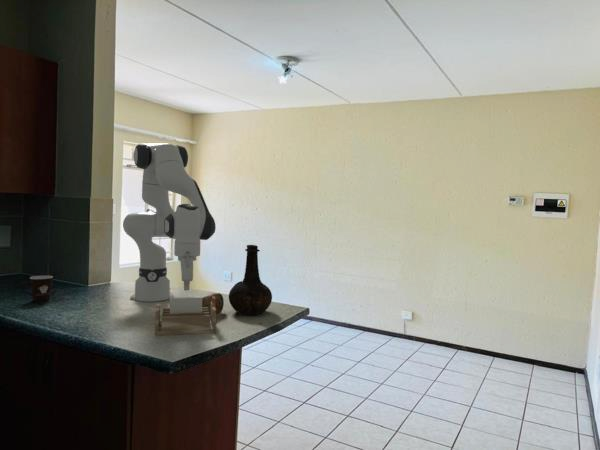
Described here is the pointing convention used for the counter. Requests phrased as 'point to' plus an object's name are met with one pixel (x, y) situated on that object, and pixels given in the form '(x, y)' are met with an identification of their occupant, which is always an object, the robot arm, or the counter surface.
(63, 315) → the counter surface
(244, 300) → the glass bottle
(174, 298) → the panel
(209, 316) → the rack
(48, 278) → the coffee mug
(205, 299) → the tin
